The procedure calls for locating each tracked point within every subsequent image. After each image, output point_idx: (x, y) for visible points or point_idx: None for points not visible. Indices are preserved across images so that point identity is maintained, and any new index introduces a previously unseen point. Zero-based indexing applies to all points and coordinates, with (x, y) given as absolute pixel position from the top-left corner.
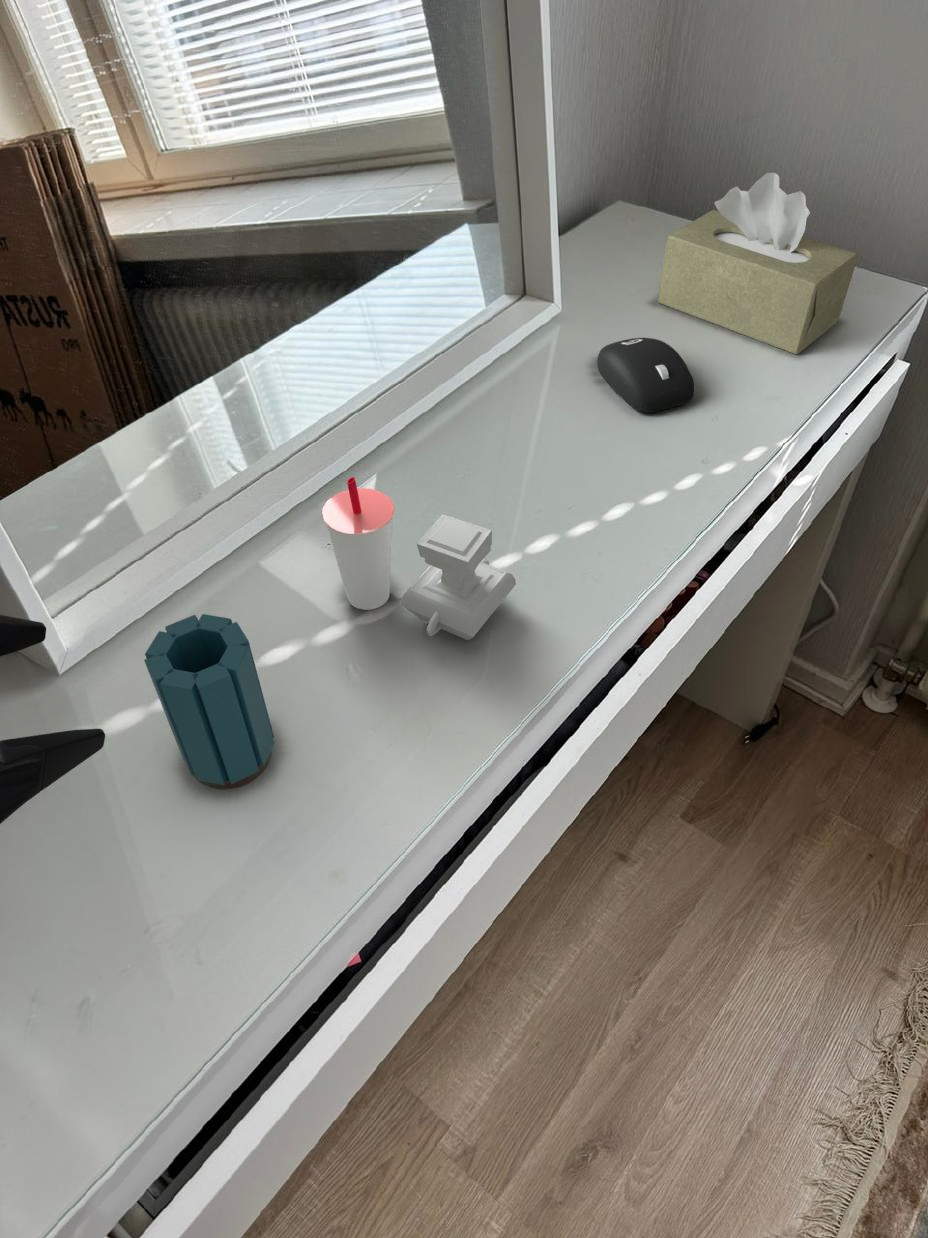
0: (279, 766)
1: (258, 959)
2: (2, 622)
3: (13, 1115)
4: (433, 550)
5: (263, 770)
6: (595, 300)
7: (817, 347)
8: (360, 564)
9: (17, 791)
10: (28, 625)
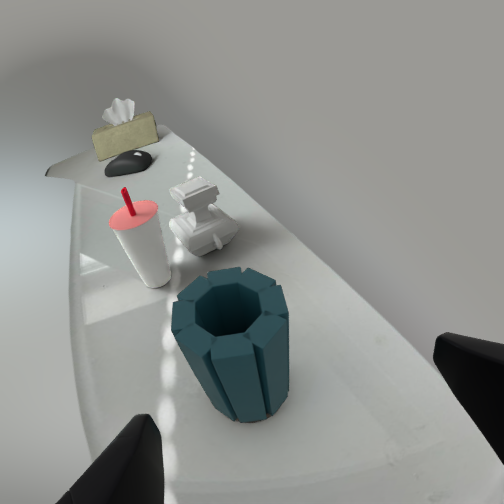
0: None
1: (427, 390)
2: (120, 465)
3: None
4: (193, 195)
5: None
6: (79, 174)
7: (160, 138)
8: (158, 244)
9: None
10: (139, 432)
